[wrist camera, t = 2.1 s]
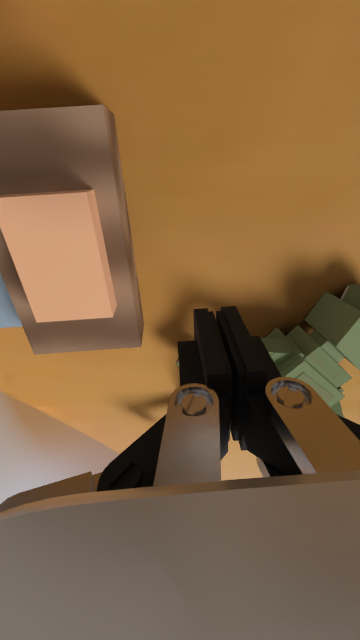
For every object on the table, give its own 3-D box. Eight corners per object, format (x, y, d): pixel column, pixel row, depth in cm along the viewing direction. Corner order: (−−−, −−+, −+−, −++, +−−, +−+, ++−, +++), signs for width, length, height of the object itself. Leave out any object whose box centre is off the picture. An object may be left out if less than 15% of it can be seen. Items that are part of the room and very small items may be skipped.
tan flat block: (5, 194, 18) (-11, 198, 17) (93, 189, 18) (86, 192, 17) (46, 310, 23) (36, 322, 21) (116, 305, 23) (112, 317, 21)
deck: (-25, 122, 19) (-66, 114, 16) (113, 114, 20) (102, 104, 16) (50, 331, 29) (34, 354, 25) (144, 324, 29) (141, 346, 25)
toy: (226, 462, 42) (401, 334, 33) (240, 515, 35) (462, 373, 27) (114, 402, 34) (303, 213, 25) (105, 455, 28) (356, 225, 19)
